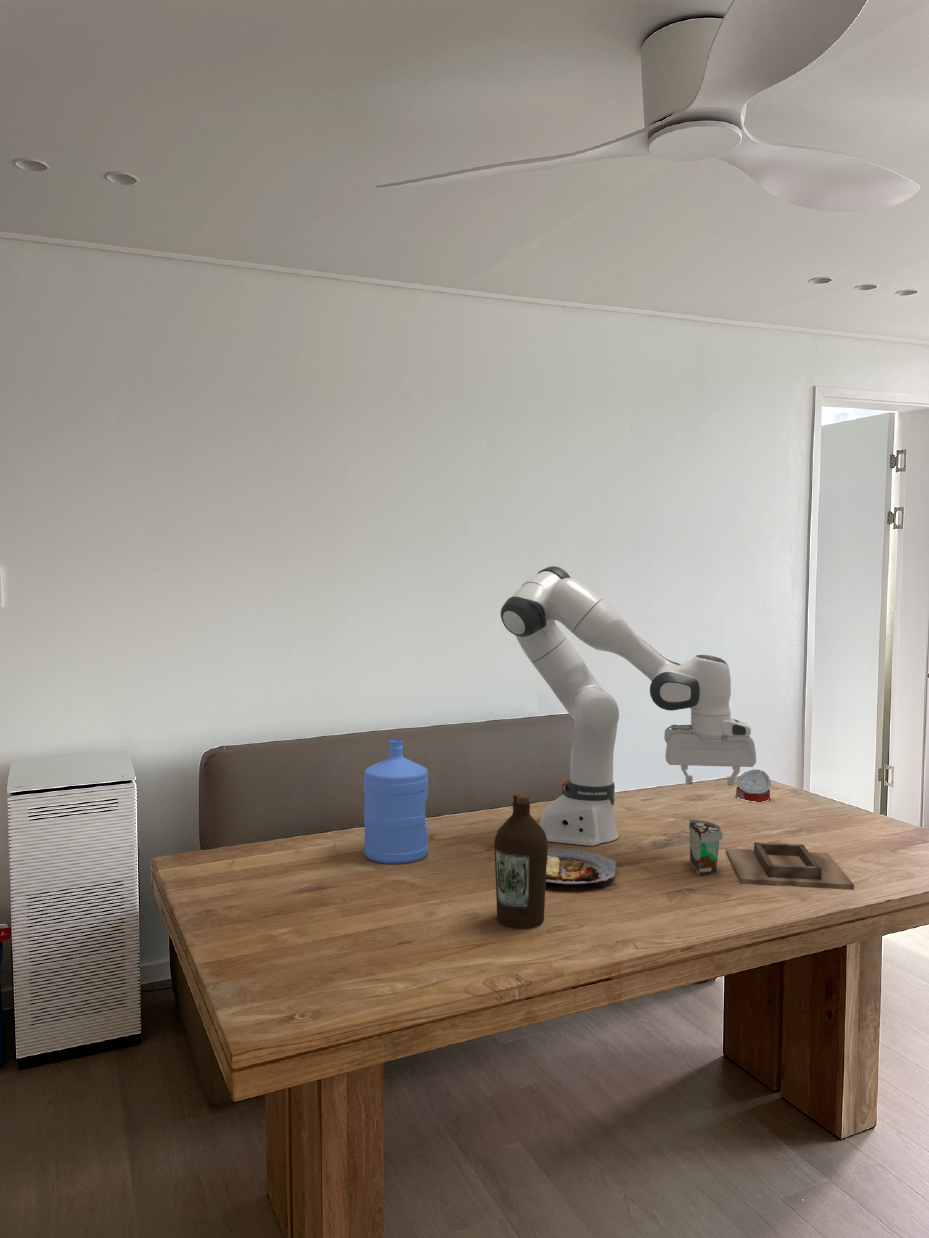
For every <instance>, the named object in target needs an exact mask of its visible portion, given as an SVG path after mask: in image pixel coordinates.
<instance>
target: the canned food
mask: <svg viewBox="0 0 929 1238" xmlns="http://www.w3.org/2000/svg"><path fill="white" fill-rule="evenodd" d="M736 783H737V787H736V789H735V791H736V792H735V797H736V796H737V797H739V798H740V799H745V800H749V801H756V802H762V801H766V800H768V799H770V800H771V787H772V780H771V778H770V776H769V774H767V772H765V771H764V770H761V769H751V770H747V771H744V772H743V773H742V774H741V775H739V777H738V779H737V781H736Z"/></svg>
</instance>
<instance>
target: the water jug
mask: <svg viewBox="0 0 929 1238" xmlns="http://www.w3.org/2000/svg"><path fill="white" fill-rule="evenodd" d="M403 741H404V740H403V739H390V740H389V743H390V744H389V756H388V757H387V758H385V759H383V760H381V761H379V762H377V763H374V764H372V765H370V766H368V767H367V768H366V769H365V770H364V777H363V788H364V809H363V810H364V811H363V821H364V844H363V852H364V853H363V854H364V855H365V857H366V858H367V859H369V860H371V861H373V862H376V863H381V864H389V865H390V864H391V865H393V864H394V865H395V864H396V865H398V864H400V865H402V864H409V863H414V862H416V861H420V860H422V859H423V858H425V857H426V856H427V855H428V852H429V841H428V840H429V835H428V834H429V832H428V831H429V829H428V823H427V822H426V803H427V802H426V801H427V800H428V796H429V791H428V790H429V770H428V769H427V768H426V767H425V766H423V765H421V764H419V763H417V762H414V761H412V760H411V759H408V758H405V757H404V755H403V751H404V750H403V749H404V746H403Z"/></svg>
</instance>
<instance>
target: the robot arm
mask: <svg viewBox="0 0 929 1238" xmlns="http://www.w3.org/2000/svg"><path fill="white" fill-rule="evenodd" d="M500 619H501V621H502V623H503V626H504V627H505V628H506V630H507V631H508V632H510V633H511V634H512V635H514V636H515V638H516V640H517V641H518V643H519V646H520V647H521V649H522V650H523V652H524V654H525V655H526V657H527V658H528V659H529V661H530V662H531V663H532V665H533V666H534V668H535V669H536V670H537V672H538V673H539V674H540V676H541V677H542V678H543V680H544V681H545V683H546V684H547V686H548V687H549V688H550V689H551V691H552V692H553V694H554V695H555V697H556V698H557V699H558V700H559V702H560V704H561V705H562V706H563V708H564V709H565V710H566V711H567V714H569V715H570V717H571V718H572V719H573V721H574V728H573V738H572V744H571V749H570V768H569V769H570V770H569V771H570V775H569V777H570V778H569V779H570V780H568V779H567V778H563V779H562V780H561V784H560V785H561V787H562V790H561V791H562V793H561V794H562V795H560V796H559V797H557V798H556V799H554V800H553V801H552V802H550V803H549V804H547V805H546V806H545V808H544V809H543V810H542V813H541V817H540V820H539V822H537V823H538V824H539V825H540V826H541V827H542V829H543V830H544V832H545V834H546V837H547V841H548V842H550V843H551V842H552V843H561V844H571V845H579V846H588V847H589V846H590V847H594V846H598V845H599V844H602V843H603V844H604V843H609V842H612V841H615V840H617V839H618V838H619V837H620V836H619V833H618V828H617V823H616V818H615V817H616V816H615V808H614V805H615V802H616V786H615V785H616V784H615V782H614V755H615V753H614V751H615V744H616V740H617V739H616V738H617V733H618V732H617V731H618V724H619V720H620V719H619V718H620V710H619V705H618V702H617V700H616V699H615V698H614V697H613V696H612V695H611V694H610V693H609V692H607V691H605V689H603V688H602V686H601V685H600V683H598V681H597V679H596V678H595V677H594V675H593V673H592V672H591V671H590V669H589V667H588V665H587V664H586V663H585V660H584V659H583V658H582V657H581V655H580V654H579V653H578V651H577V650H576V649H575V647H574V646H573V644H571V642H570V641H569V639H568V638H567V637H566V636H565V634H564V633H563V631H562V630H561V629H560V628H559V626H558V625H557V624H556V622H555V621H557V622H559V623H561V624H562V625H563V626H564V627H565V628H566V629H567V630H568V631H570V632H571V633H572V634H573V636H575V637H576V638H577V639H578V640H580V641H582V642H583V643H584V644H585V645H588V646H589V647H591V648H593V649H594V650H597V651H600V652H601V651H603V652H609V653H612V654H615V655H618V656H620V657H621V658H623V659H625V660H626V661H628V662H629V663H630V664H631V665H632V666H633V667H635V668H636V669H637V670H638V671H639V672H641V673H642V674H643V675H644V676H645V677H647V678H648V679H649V680H650V682H651V683H650V685H649V695H650V698H651V700H652V702H653V703H654V704H655V705H656V706H657V707H658V708H660V709H662V710H665V711H670V712H671V711H673V712H674V711H678V710H685V709H690V724H671V725H670V726H667V727H666V728H665V730H664V737H663V738H664V741H665V743H666V747H665V761H666V763H667V764H668V765H669V766H680V769H681V772H683V773H682V774H683V775H684V776H685V780H684V781H685V785H694V784H693V783H694V782H693V781H694V779H693V776H692V775H689V774H688V772H687V771H688V769H689V767H688V766H692V767H693V766H697V767H699V766H703V767H731V768H732V770H733V772H732V774H731V775H730V776H726V780H727V782H726V785H727V786H728V787H729V786H731V787H732V786H735V782H736V781H735V780H736V778H737V777H738V775H739V773H740V772H741V768H753V767H754V766H755V765H756V764H757V752H756V745H755V741H754V740H753V738H752V737H751V733H752V729H751V727H750V725H749V724H747V723H746V722H744V721H741V720H738V719H734V718H731V713H732V712H731V709H730V699H731V696H732V688H731V687H732V686H731V685H732V681H731V672H730V666H729V664H728V663H727V661H725V660H724V659H722V658H721V657H718V656H713V655H708V654H697V655H696V654H695V656H693V658H691V659H689V660H687V661H685V662H684V663H679V662H674V661H672V660H669V659H668V658H667V657H664V656H663V655H662V654H661V653H660V652H658V651H657V650H656V649H654V647H652V646H651V645H649V644H648V643H647V642H646V641H645V640H644V639H643V638H641V637H640V636H639V635H638V634H637V633H636V632H635V631H634V630H633V629H632V628H631V627H630V626H629V624H628V623H627V622H626V620H624V618H623V617H622V616H621V615H620V614H619V612H617V611H616V609H615V608H614V607H613V606H612V605H611V604H610V603H609V602H607V600H605V599H604V598H603V597H602V596H601V595H599V594H598V593H597V592H596V591H594V590H593V589H592V588H590V587H588V586H587V585H585V584H584V583H582V582H581V581H578V580H577V579H575V578H572V577H571V576H570V574H569V573H568V572H567V571H566V570H564V569H563V568H561V567H559V566H554V565H553V566H552V565H551V566H547V567H545V568H543V569H540V570H539V571H538V572H537V573H536V575H534V576H532V577H530V578H529V579H528V580H526V581H525V582H524V583H522V584H521V586H520V587H519V589H517V590H516V592H515V593H514V594H512V596H511V597H509V598H507V600H506V601H505V602H504V604H503V606H502V607H501V609H500Z"/></svg>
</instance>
